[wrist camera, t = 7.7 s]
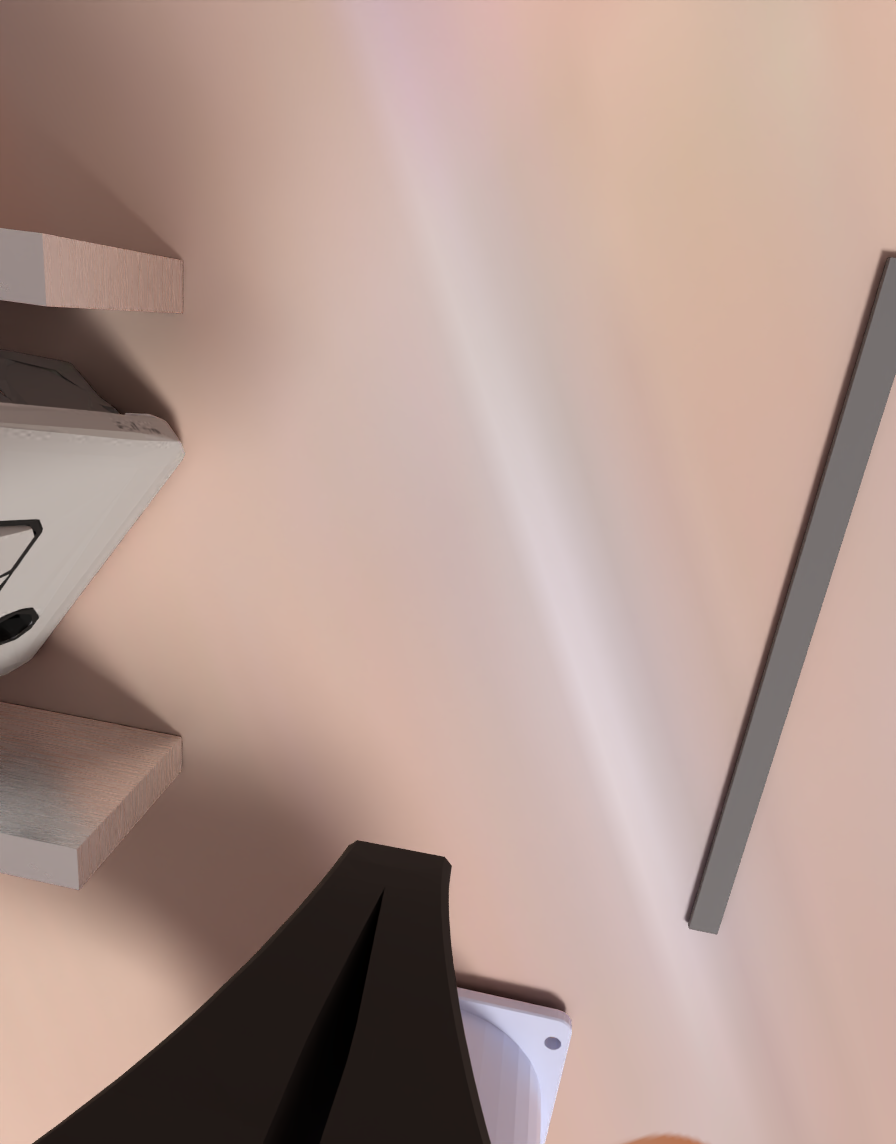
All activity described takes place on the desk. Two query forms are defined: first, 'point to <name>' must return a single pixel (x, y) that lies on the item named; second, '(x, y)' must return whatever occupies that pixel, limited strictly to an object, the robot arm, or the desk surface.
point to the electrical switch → (65, 492)
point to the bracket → (53, 740)
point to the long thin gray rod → (803, 600)
